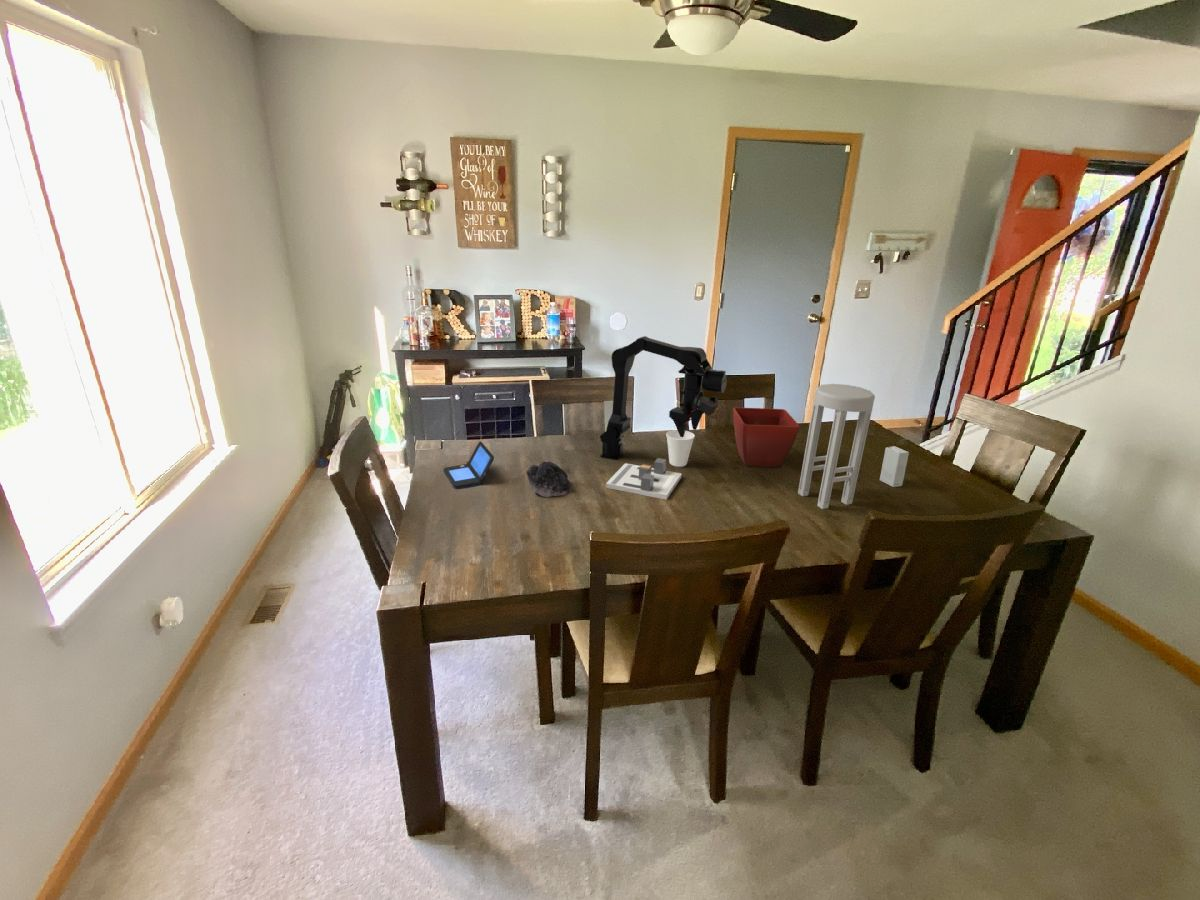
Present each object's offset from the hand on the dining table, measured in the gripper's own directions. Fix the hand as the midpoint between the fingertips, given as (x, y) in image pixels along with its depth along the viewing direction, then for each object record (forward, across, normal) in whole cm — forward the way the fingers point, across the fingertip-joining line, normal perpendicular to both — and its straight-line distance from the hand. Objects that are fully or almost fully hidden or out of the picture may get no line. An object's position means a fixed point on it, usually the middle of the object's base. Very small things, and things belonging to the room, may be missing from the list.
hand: (688, 433), depth 189 cm
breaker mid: (+12, -16, +6) cm, 21 cm away
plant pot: (+14, +26, -16) cm, 34 cm away
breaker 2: (+12, -8, +5) cm, 16 cm away
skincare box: (+14, +35, -59) cm, 70 cm away
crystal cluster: (+14, -39, +28) cm, 50 cm away
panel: (+14, -16, +6) cm, 22 cm away
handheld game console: (+15, -48, +54) cm, 74 cm away
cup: (+14, +5, +5) cm, 16 cm away
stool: (+14, +9, -44) cm, 47 cm away
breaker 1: (+12, -22, +2) cm, 26 cm away
